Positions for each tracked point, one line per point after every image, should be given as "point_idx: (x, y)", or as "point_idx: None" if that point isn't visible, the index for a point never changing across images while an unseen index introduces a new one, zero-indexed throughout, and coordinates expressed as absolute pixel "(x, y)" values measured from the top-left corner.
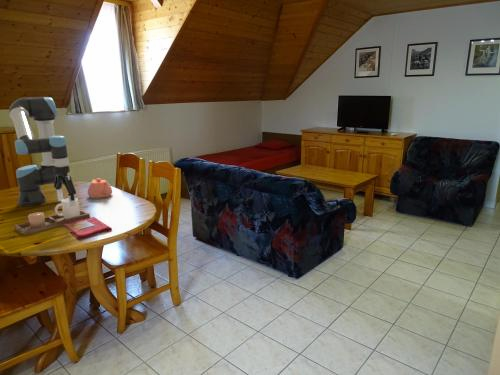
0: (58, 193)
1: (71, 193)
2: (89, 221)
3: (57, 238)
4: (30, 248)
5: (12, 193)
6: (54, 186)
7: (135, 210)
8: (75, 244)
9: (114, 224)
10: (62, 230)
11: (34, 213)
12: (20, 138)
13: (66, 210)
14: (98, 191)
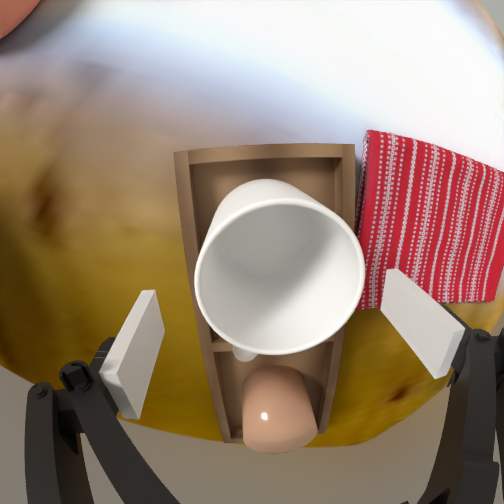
0: (146, 378)
1: (500, 373)
2: (404, 186)
3: None
4: (408, 407)
5: None
6: (71, 435)
7: None
8: (492, 316)
9: (484, 129)
10: (378, 320)
11: (257, 438)
12: None
13: (307, 298)
14: None
